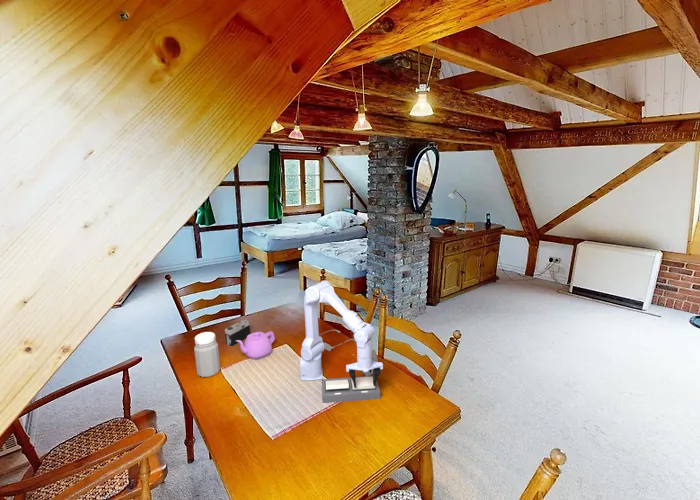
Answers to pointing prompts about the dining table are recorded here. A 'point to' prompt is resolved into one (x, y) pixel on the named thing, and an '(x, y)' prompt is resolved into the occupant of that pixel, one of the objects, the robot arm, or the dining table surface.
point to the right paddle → (363, 383)
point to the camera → (237, 332)
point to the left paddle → (337, 384)
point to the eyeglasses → (330, 346)
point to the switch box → (348, 392)
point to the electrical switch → (374, 359)
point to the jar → (206, 354)
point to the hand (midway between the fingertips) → (364, 385)
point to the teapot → (257, 344)
